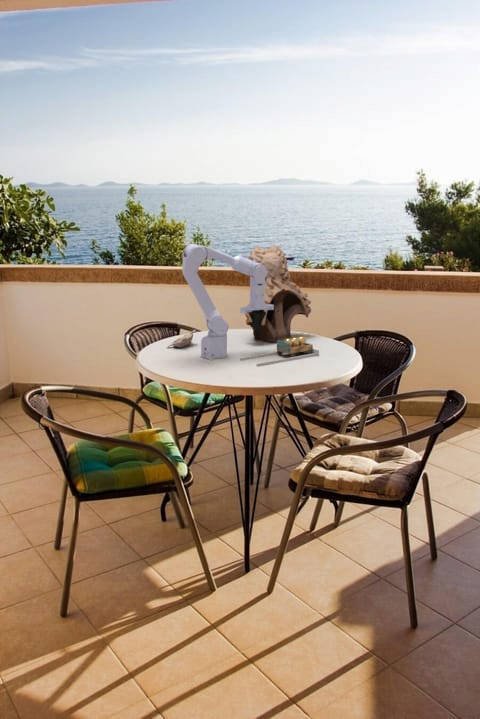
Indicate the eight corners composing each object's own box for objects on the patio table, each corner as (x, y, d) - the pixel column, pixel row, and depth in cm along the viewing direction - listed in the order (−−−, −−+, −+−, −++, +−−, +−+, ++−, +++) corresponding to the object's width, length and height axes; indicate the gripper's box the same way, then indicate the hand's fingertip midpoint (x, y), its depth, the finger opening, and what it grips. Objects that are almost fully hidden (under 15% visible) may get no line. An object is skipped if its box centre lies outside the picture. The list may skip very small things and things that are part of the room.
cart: (289, 359, 248) (290, 344, 247) (275, 355, 255) (275, 339, 254) (313, 355, 255) (314, 340, 254) (299, 350, 262) (299, 336, 260)
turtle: (188, 357, 266) (197, 335, 264) (166, 350, 264) (174, 327, 262) (188, 348, 281) (196, 326, 279) (167, 340, 279) (174, 319, 277)
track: (258, 368, 238) (258, 360, 237) (239, 361, 248) (239, 353, 247) (318, 357, 254) (318, 349, 254) (298, 351, 264) (298, 344, 263)
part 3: (301, 348, 254) (301, 337, 253) (296, 346, 257) (296, 336, 256) (307, 347, 256) (307, 337, 255) (302, 345, 258) (302, 335, 257)
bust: (287, 330, 304) (289, 242, 294) (315, 337, 291) (318, 244, 281) (229, 340, 282) (229, 245, 272) (256, 348, 269) (257, 248, 259)
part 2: (294, 349, 252) (294, 339, 251) (289, 347, 255) (289, 337, 254) (300, 348, 254) (300, 338, 253) (295, 346, 256) (295, 336, 255)
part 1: (287, 350, 250) (287, 340, 249) (282, 348, 253) (282, 338, 252) (293, 349, 252) (293, 339, 251) (288, 347, 255) (288, 337, 254)
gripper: (248, 297, 245) (247, 333, 249) (278, 294, 253) (278, 329, 257) (237, 295, 251) (237, 330, 254) (267, 292, 259) (267, 326, 262)
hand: (257, 329), depth 256 cm, fingers closed
